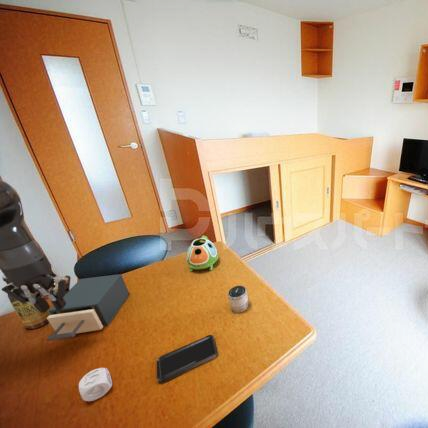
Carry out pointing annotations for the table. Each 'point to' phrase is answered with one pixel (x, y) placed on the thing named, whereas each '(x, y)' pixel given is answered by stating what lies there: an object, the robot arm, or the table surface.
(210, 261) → the turtle holder
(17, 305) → the sauce bottle
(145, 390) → the table surface
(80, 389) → the die
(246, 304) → the camera lens
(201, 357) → the phone
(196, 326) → the table surface
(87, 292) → the cabinet
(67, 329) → the drawer
